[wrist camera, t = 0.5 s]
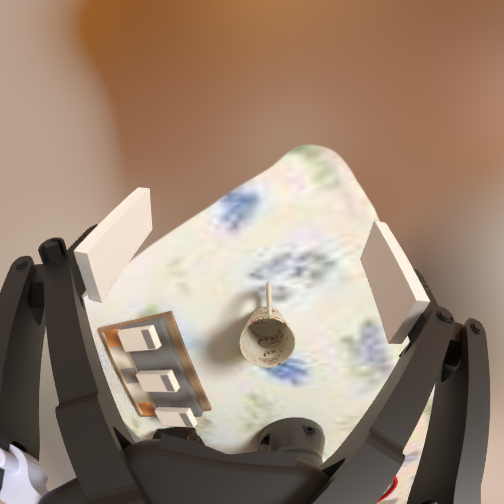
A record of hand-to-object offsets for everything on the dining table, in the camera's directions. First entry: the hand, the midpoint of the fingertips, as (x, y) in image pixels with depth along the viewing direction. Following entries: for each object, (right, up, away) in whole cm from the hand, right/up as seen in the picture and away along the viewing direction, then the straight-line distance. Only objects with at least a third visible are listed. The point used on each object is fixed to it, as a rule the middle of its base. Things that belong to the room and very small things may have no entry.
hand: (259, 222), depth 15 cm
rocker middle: (-18, -26, +32) cm, 44 cm away
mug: (+2, -12, +34) cm, 36 cm away
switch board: (-21, -26, +36) cm, 49 cm away
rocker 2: (-15, -34, +32) cm, 49 cm away
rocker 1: (-20, -17, +31) cm, 41 cm away
